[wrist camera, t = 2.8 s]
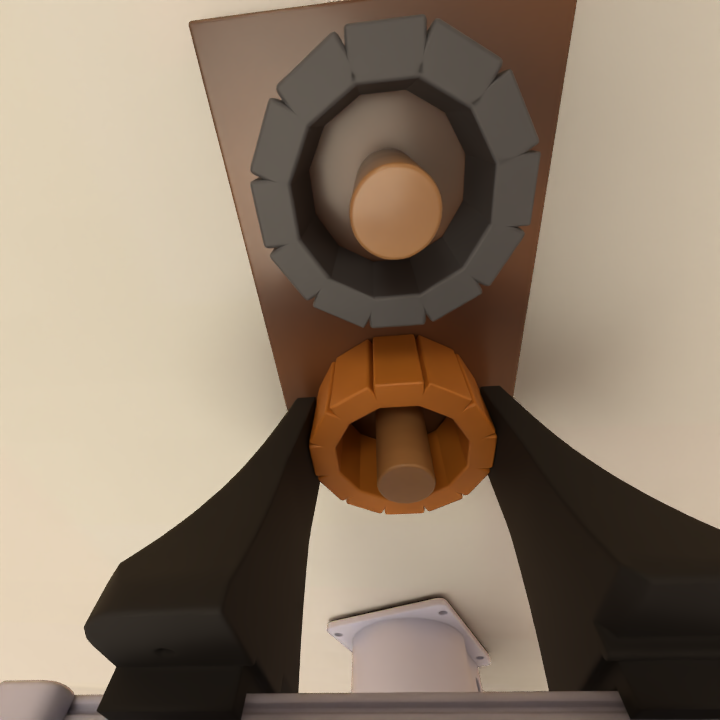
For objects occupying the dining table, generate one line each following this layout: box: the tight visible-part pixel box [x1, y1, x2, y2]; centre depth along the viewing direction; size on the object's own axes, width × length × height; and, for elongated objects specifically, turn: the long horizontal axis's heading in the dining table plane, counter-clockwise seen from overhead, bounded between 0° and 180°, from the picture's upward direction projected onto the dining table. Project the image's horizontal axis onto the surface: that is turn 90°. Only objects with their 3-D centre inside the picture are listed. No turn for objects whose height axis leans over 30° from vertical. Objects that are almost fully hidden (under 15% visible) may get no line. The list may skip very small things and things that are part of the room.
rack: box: [189, 0, 577, 503], centre depth 10 cm, size 14×8×4 cm, turn 5°
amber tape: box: [309, 334, 497, 514], centre depth 12 cm, size 5×5×3 cm
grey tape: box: [250, 14, 541, 328], centre depth 8 cm, size 5×5×3 cm
